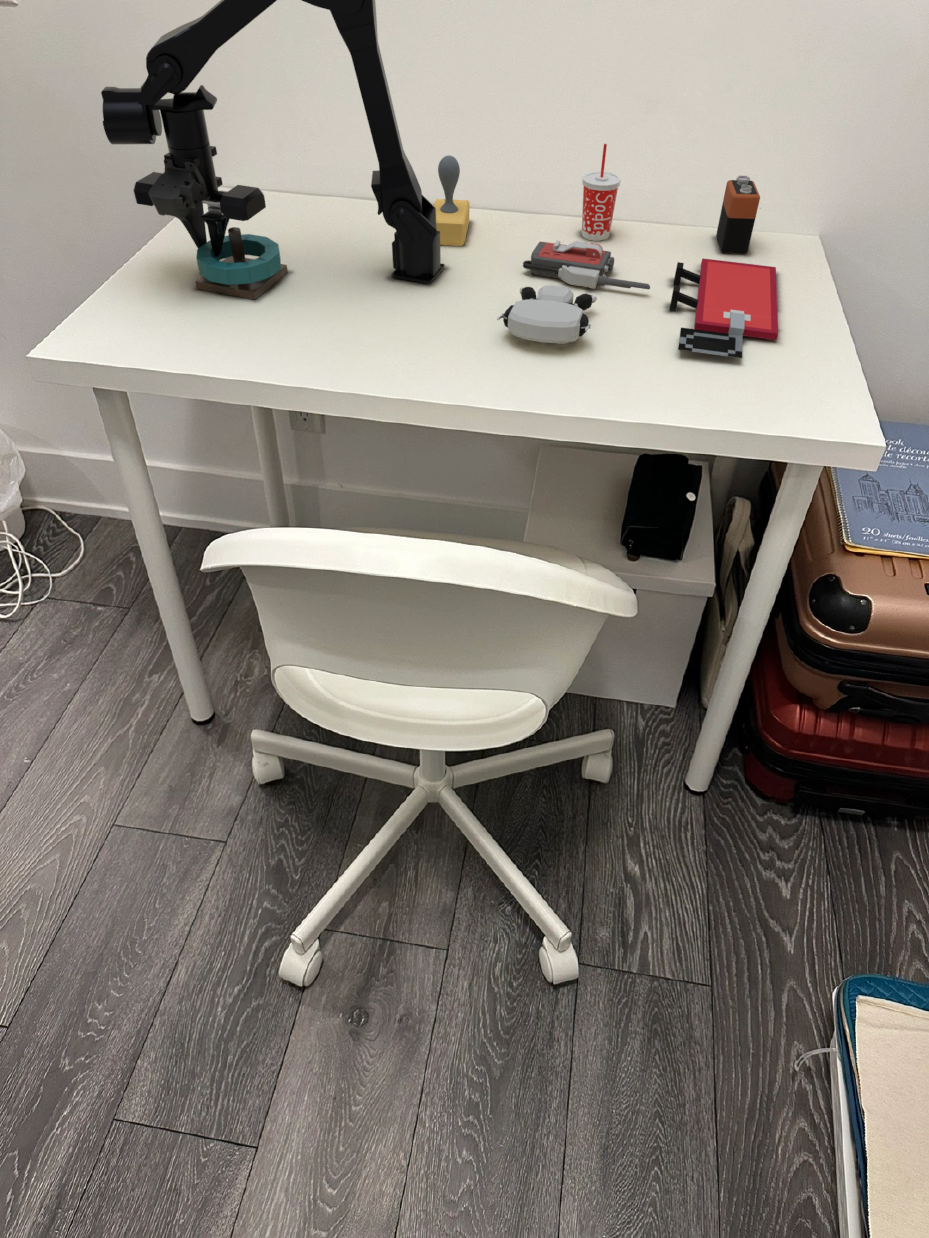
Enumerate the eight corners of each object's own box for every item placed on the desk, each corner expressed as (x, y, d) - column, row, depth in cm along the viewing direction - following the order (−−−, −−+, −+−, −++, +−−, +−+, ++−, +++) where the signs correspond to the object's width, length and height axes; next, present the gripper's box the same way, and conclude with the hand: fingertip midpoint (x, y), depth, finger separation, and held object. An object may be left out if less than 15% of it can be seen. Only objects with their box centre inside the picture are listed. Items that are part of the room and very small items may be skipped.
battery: (741, 237, 148) (755, 174, 141) (747, 255, 144) (762, 190, 136) (715, 237, 149) (728, 173, 141) (720, 254, 144) (734, 189, 137)
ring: (294, 257, 137) (292, 241, 135) (255, 290, 129) (252, 273, 127) (226, 245, 140) (223, 229, 138) (184, 276, 132) (180, 260, 130)
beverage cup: (574, 240, 147) (583, 149, 137) (579, 226, 151) (588, 136, 141) (611, 244, 146) (623, 152, 136) (615, 229, 150) (626, 139, 140)
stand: (287, 272, 138) (280, 221, 133) (255, 300, 132) (246, 248, 126) (231, 262, 141) (222, 212, 135) (196, 289, 134) (185, 237, 129)
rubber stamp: (435, 220, 153) (434, 145, 144) (469, 222, 152) (470, 146, 144) (428, 244, 146) (427, 166, 137) (464, 246, 145) (464, 168, 137)
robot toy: (516, 306, 132) (494, 347, 121) (518, 275, 129) (495, 314, 118) (598, 316, 130) (583, 359, 119) (602, 285, 127) (587, 326, 116)
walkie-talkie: (517, 279, 137) (647, 299, 132) (519, 251, 134) (651, 270, 129) (533, 256, 143) (657, 275, 138) (535, 228, 140) (662, 246, 135)
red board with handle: (662, 354, 120) (776, 369, 118) (666, 334, 118) (782, 350, 116) (676, 264, 141) (773, 276, 139) (679, 246, 139) (778, 258, 137)
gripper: (96, 153, 121) (126, 266, 132) (215, 171, 116) (237, 287, 127) (144, 128, 128) (169, 238, 139) (258, 144, 124) (275, 256, 135)
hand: (210, 254), depth 135 cm, fingers closed on ring, 2 cm apart
